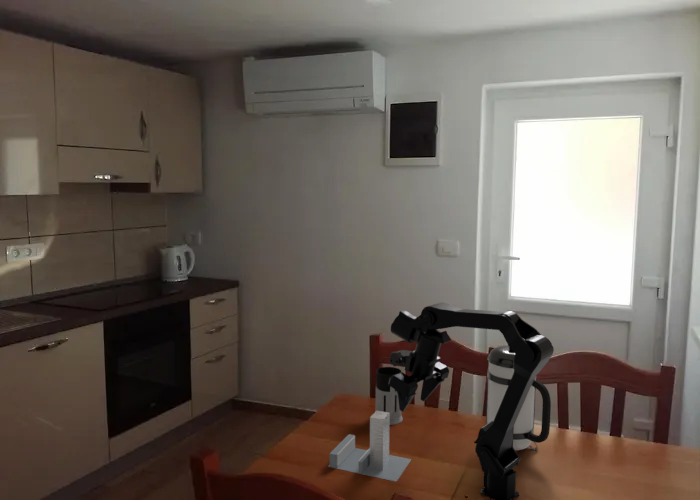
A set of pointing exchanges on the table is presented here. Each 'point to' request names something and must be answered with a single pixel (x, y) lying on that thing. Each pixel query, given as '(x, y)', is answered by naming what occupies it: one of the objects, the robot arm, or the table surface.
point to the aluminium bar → (379, 440)
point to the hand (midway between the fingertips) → (412, 405)
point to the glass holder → (387, 394)
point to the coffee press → (524, 424)
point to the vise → (364, 461)
